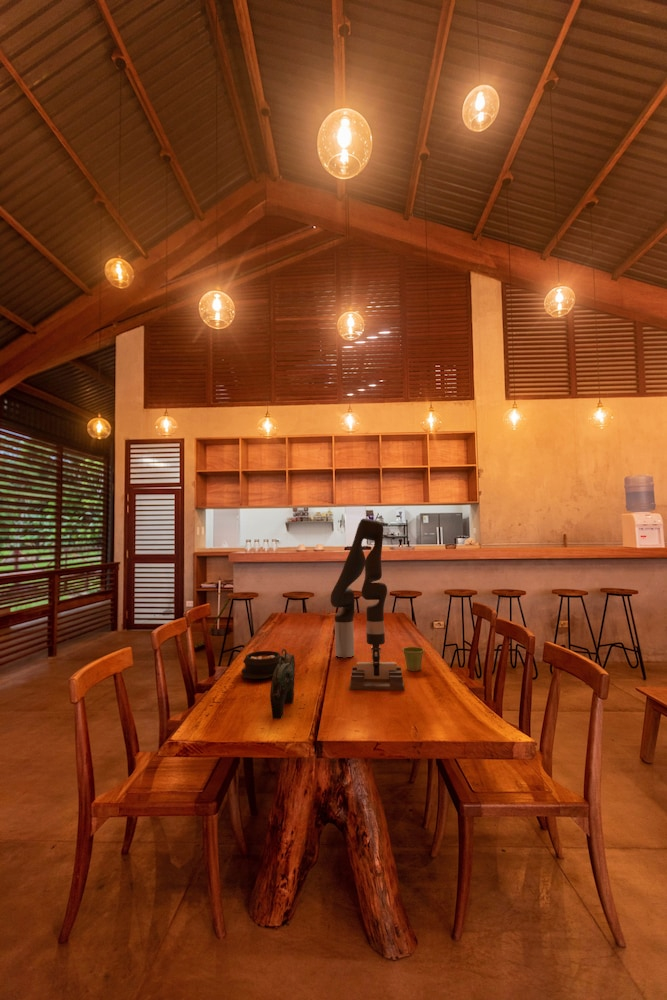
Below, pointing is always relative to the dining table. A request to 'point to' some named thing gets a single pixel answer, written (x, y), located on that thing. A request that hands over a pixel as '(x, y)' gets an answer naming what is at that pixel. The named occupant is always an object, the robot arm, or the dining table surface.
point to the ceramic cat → (282, 684)
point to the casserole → (260, 664)
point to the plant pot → (413, 658)
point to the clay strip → (383, 669)
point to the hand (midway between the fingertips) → (376, 673)
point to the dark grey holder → (376, 681)
